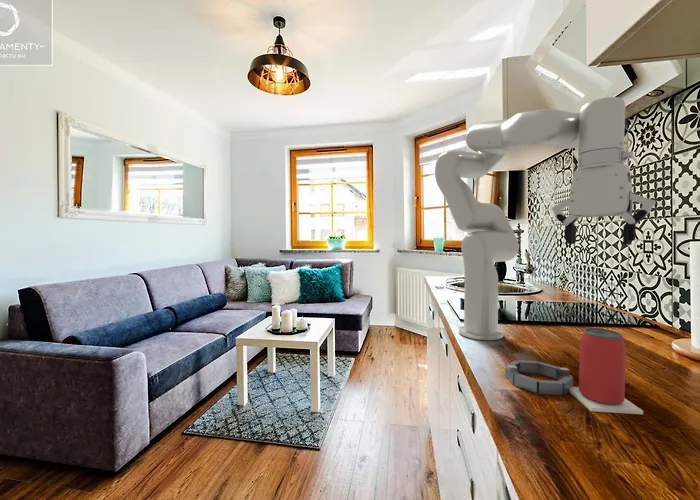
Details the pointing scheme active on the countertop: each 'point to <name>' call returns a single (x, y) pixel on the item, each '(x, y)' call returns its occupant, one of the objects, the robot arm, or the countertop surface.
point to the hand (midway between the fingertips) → (597, 244)
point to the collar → (539, 385)
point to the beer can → (602, 366)
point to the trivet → (600, 407)
